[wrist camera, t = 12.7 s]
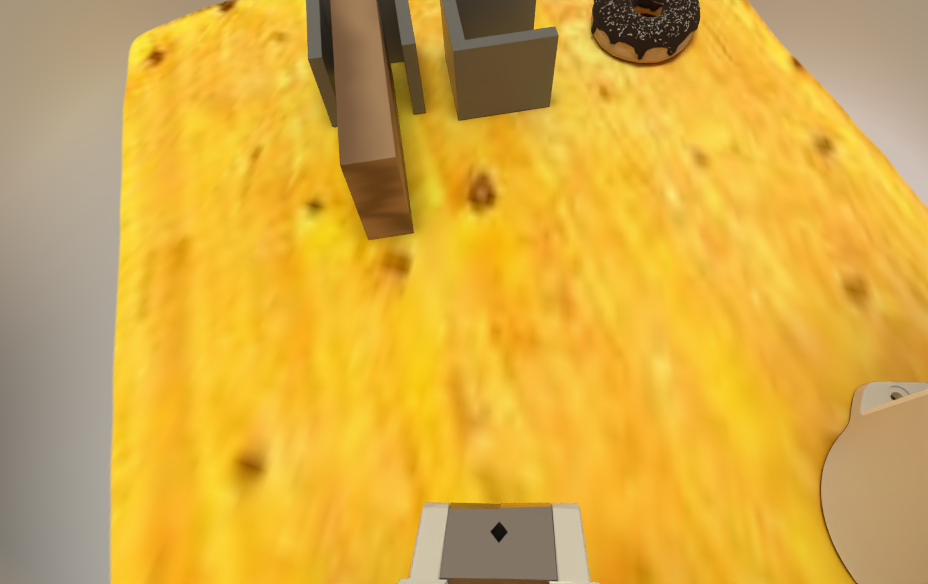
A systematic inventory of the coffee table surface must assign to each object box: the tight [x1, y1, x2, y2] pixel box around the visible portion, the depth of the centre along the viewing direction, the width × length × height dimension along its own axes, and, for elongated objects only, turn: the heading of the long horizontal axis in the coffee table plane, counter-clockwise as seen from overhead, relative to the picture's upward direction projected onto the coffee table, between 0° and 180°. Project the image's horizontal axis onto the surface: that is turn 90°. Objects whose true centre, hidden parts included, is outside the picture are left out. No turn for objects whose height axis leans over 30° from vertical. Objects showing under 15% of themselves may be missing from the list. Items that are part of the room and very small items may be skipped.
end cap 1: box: [306, 0, 426, 127], centre depth 52 cm, size 9×9×8 cm
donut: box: [591, 0, 700, 63], centre depth 56 cm, size 11×12×4 cm
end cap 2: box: [440, 0, 558, 120], centre depth 51 cm, size 9×9×8 cm
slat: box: [330, 0, 414, 240], centre depth 47 cm, size 4×20×10 cm, turn 9°
